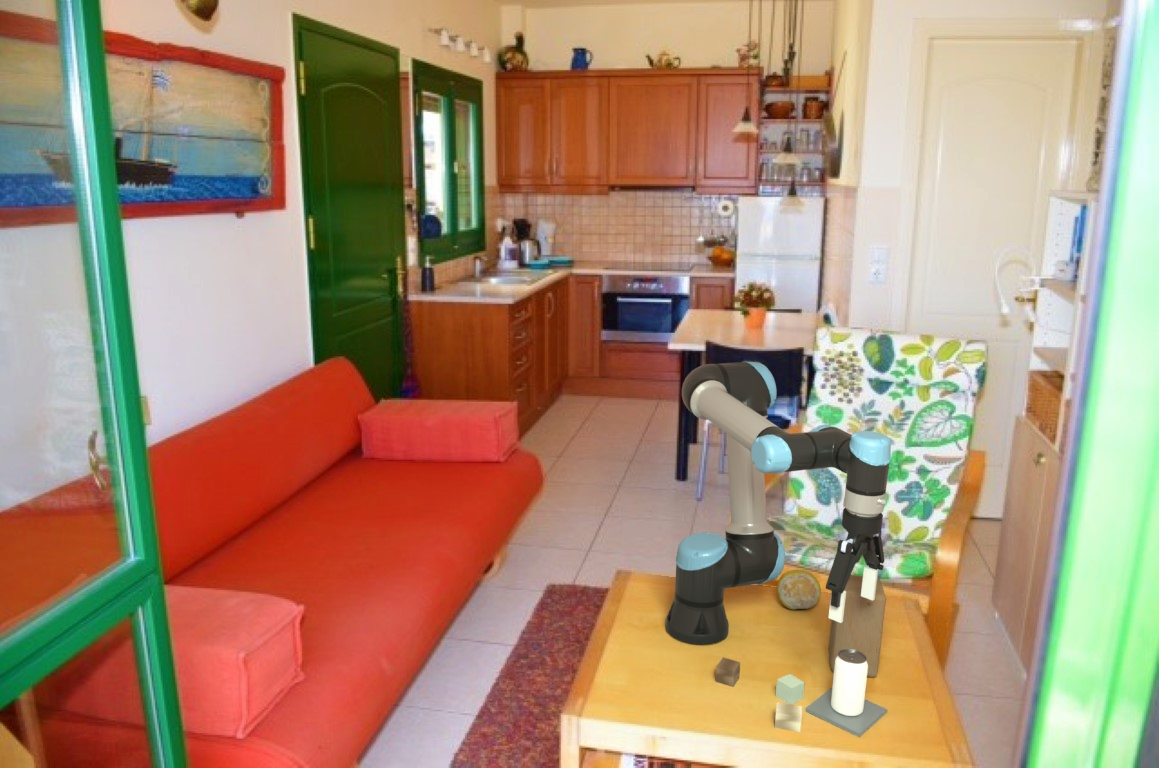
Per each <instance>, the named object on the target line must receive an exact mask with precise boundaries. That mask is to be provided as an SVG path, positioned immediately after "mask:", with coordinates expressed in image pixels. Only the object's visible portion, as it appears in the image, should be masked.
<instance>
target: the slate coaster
mask: <svg viewBox="0 0 1159 768" xmlns="http://www.w3.org/2000/svg"><path fill="white" fill-rule="evenodd" d="M831 696H832V687H831V688H829V689H828V690H827V691H825V692H824V693H823V694H821V695H820V696H819V697H817V698H816V699H815V700H814V701H813V702H811V703H810V704H809V705H807V706H806V707H805V712H806V713H809V714H810V715H813V716H814V717H816V718H818V719H821V720H823V721H825V722H826V723H830V724H831V725H833V726H836V727H837V728H840V729H841V730H844V731H845V732H847V733H850V734H852V735H854V736H856V737H858V738H860V737H861V736H863V735H864V734H865V733H866V732H867V731H868V730H870V729H871V727H872V726H874V725H875V724H876V723H877V722H878V721H879V720H880V719H882V718H883V717H884V716H885V715H886V714H887V713H888V708H886V707H883V705H882V706H881V705H879V704H877V703H874V702H872V701H870V700H868V699H867V698H865V699H864V707H863V712H862V713H861V714H859V715H858V716H854V717H849V716H844V715H841V714H839V713H837V712H836V711H835V710H834V709H833V708H832V706H831Z"/></svg>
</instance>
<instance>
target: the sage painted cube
mask: <svg viewBox="0 0 1159 768" xmlns="http://www.w3.org/2000/svg"><path fill="white" fill-rule="evenodd" d="M775 687H776V688H775V697H777V698H778V699H780V700H781V701H783V703H784V702H785V704H791V705H795V703H798V702H800V701H803V700H804V691H805V682H804V681H802V680H801V679H799V678H797V677H796V676H795V675H793V674H790V673H789V674H786V675H784V676H782V677H780V678H777V679H776V686H775Z"/></svg>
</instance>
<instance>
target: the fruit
mask: <svg viewBox="0 0 1159 768" xmlns="http://www.w3.org/2000/svg"><path fill="white" fill-rule="evenodd" d="M776 592H777V596H778V599H779V601H780V603H781V604H782V605H783V606H784V607H785V608H787V609H790V610H799V609H800V610H803V609H812V608H813V607H814V606H816V605H817V604H818V602H819V601H820V599H821V595H822V589H821V584H820V582H819V580H818V579H817V577H816V576H815V575H814V574H813V573H812V572H810V571H807V570H804V569H790V570H788V571H786V572H783V574H781V575H780V577H779V579H778V581H777V586H776Z"/></svg>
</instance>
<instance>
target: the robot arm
mask: <svg viewBox="0 0 1159 768" xmlns="http://www.w3.org/2000/svg"><path fill="white" fill-rule="evenodd" d="M776 384H777V383H776V381H775V378H774V376H773V374H772V372H771V371H770V370H769V368H768V367H767V366H766V365H765V364H762V363H761V362H756V361H754V362H753V361H741V362H726V363H707V364H704V365H700V366H698V367H696V368H694V369H692V370H691V371H690V372H689V373H688V374H687V376H686V377H685V378H684V381H683V383H682V387H681V398H682V399H681V400H682V401H683V404H684V405H685V407H686V409H688V411H689V412H690V413H691V414H692V415H694V416H695V417H696V418H698V419H700V420H703V421H704V420H705V421H706V420H707V421H709V422H710V423H712V424H713V425H714V426H716V427H717V428H718V429H720V430H721V431H722V432H724V433H725V434H726V451H727V468H728V486H729V487H728V489H729V508H730V523H729V524H728V525H727V527H725V529H724V530H725V536H723V535H721V534H718V533H716V532H710V533H708V532H707V531H705V532H704V531H702V532H697V533H693V534H689V535H686V536H685V537H684V538H683V539H682V540H681V541H680V542H679V544H678V545H677V550H676V551H677V552H676V556H675V563H676V564H675V565H676V566H675V580H674V581H675V582H674V583H675V584H674V586H675V587H674V598H673V601H672V603H671V605H670V607H669V609H668V612H667V615H666V619H665V629H666V630H665V631H666V632H667V633H668V634H669V635H670V636H671V637H672V638H674V639H675V640H677V641H680V642H683V643H686V644H689V645H697V646H709V645H714V644H717V643H721V642H722V641H724V640H725V639H726V638H727V637H728V635H729V627H730V625H729V624H730V623H729V620H728V618H727V613H726V608H725V604H724V593H725V590H726V589H733V588H738V587H746V586H752V585H763V584H765V583H769V582H773V581H775V580H777V579H778V578H779V576H781V575H782V573H783V570H784V567H785V565H786V564H785V562H786V550H785V546H784V545H783V540H782V538H781V537H780V536H779V535H778V534H776V533H774V531H775V529H774V527H773V526H772V525H771V524H770V523H769V521H768V519H767V518H768V515H767V500H766V499H767V498H766V481H765V479H766V478H765V474H775V475H776V474H777V475H778V474H782V473H790V472H796V471H797V472H798V471H805V470H817V469H828V468H834V469H836V470H838V471H840V472H842V473H844V474H846V482H845V491H844V499H843V507H844V508H843V509H842V518H841V526H842V527H843V529H844V530H846V532H847V536H846V538H845V540H843V539H839V540H838V542H837V547H836V552H835V556H834V559H833V562H832V565H831V568H830V572H829V575H828V577H827V578H828V579H827V581H826V583H825V584H826V585H825V590H828V591H830V592H831V593H830V601H829V609H828V610H829V611H828V619H830V620H831V619H832V620H835V621H837V622H840V623H842V622H843V616H844V607H845V598H846V591H844V589H845V587H846V585H847V582H848V580H849V578H850V575H852V574H853V573H852V572H853V570H854V568H855V566H856V564H857V563H859V562H860V560H861V558H862V557H863V559H864V563H865V564H866V566H864V567H863V574H862V576H863V581H862V589H861V596H862V597H865V598H867V599H870V600H875V592H876V583H877V578H878V572H879V571H883V570H884V567H885V565H883V564H884V563H885V553H884V547H883V541H882V528H883V527H882V526H883V519H884V515H883V512H884V509H885V505H886V504H887V500H886V494H887V493H886V492H887V484H888V476H889V472H890V471H889V470H890V463H891V459H892V457H891V453H892V452H891V449H892V448H891V447H892V441H891V438H889V436H887V435H885V434H883V433H880V432H876V431H874V430H873V431H872V430H871V431H870V430H859V431H855V432H854V433H852V434H851V433H849V432H847V431H845V430H843V429H841V428H839V427H837V426H834V425H833V426H832V425H829V424H821V425H818V426H817V427H815V428H814V429H812V430H811V431H806V432H804V431H803V432H795V433H790V432H787V431H785V430H784V429H782V428H780V427H779V426H778V425H776V424H774V423H773V422H771V421H770V420H769V419H767V418H768V417H769V416H768V410H769V409H770V408H772V407H773V406H774V404H775V400H776V399H777V392H778V390H777V385H776Z"/></svg>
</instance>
